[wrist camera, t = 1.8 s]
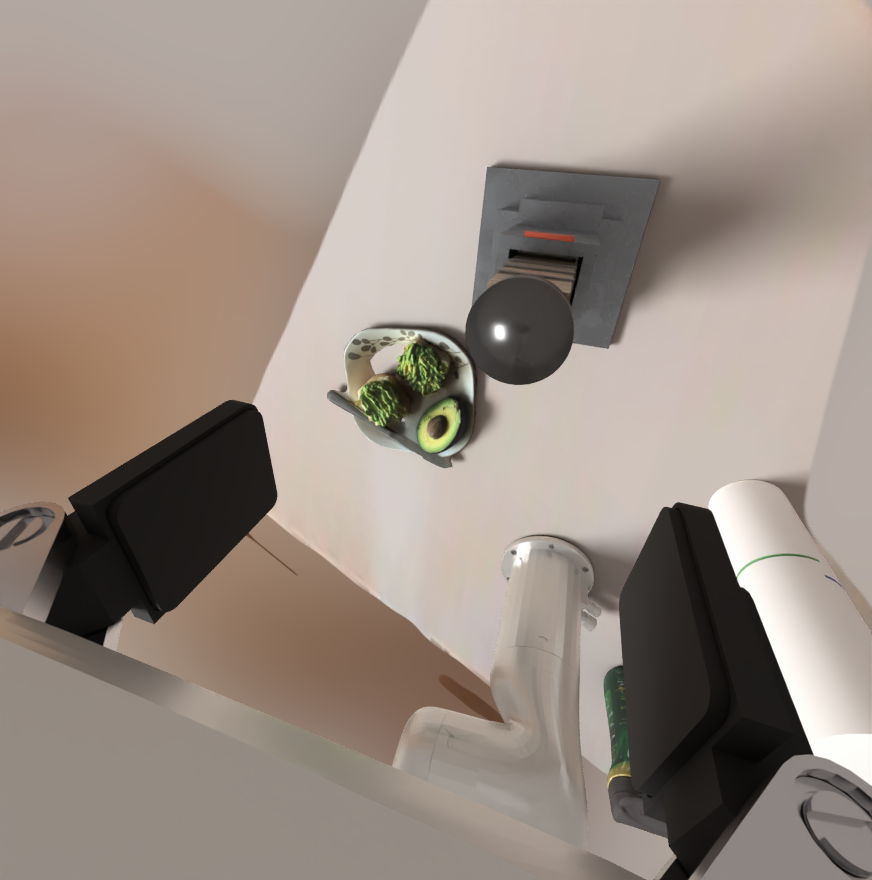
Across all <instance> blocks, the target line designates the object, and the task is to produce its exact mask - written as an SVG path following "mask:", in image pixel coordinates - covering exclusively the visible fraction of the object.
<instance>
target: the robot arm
mask: <svg viewBox="0 0 872 880" xmlns="http://www.w3.org/2000/svg"><path fill="white" fill-rule="evenodd" d="M68 499H69V501H70V502H71V504H72V506H73V508H74V510H75V511H74V512H73V513H71V514H70V515H68V516H67V514H66V513H65V511H64V509H63V508H62V506H60V505H58V504H56V503H52V502H34V503H28V504H23V505H20V506H15V507H12V508H10V509H7V510H4V511H2V512H0V880H645V879H643V878H641V877H639V876H637V875H636V874H634V873H632V872H630V871H627V870H625V869H624V868H621V867H620V866H617V865H616V864H614V863H612V862H610V861H608V860H605V859H603V858H601V857H598V856H596V855H594V854H592V853H590V852H587V851H585V849H586V843H587V836H588V811H587V800H586V791H585V783H584V775H583V767H582V758H581V746H580V729H579V682H580V633H581V626H582V627H584V628H585V629H587V630H588V631H592V630H593V629H594V628H595V627H596V625H597V620H596V619H595V618H594V617H592V616H591V615H589V614H588V613H586V612H584V611H582V610H583V609H586V610H587V611H588V612H589V613H591V614H592V615H593V616H595V617H599V616H600V614H601V612H602V610H601V608H599V607H598V606H596V605H595V604H593V603H591V602H590V601H589V599H588V593H589V591H590V590H591V588H592V586H593V582H594V573H593V567H592V565H591V562H590V561H589V559H588V558H587V557H586V555H585V554H584V553H583V552H582V551H581V550H579V549H578V548H576V547H575V546H574V545H572V544H570V543H568V542H566V541H563V540H560V539H557V538H553V537H547V536H531V537H526V538H522V539H519V540H517V541H515V542H514V543H512V544H511V545H510V546H509V547H508V548H507V549H506V550H505V552H504V554H503V557H502V562H501V570H502V574H503V576H504V578H505V580H506V582H507V583H508V587H507V592H506V597H505V602H504V607H503V612H502V617H501V622H500V627H499V632H498V637H497V642H496V646H495V651H494V656H493V661H492V666H491V673H490V684H491V690H492V694H493V698H494V700H495V703H496V705H497V708H498V710H499V712H500V714H501V716H502V718H503V720H504V722H505V723H499V722H494V721H488V720H484V719H480V718H476V717H472V716H469V715H465V714H462V713H458V712H454V711H450V710H447V709H443V708H437V707H424V708H421V709H419V710H417V711H416V712H415V713H414V714H413V715H412V716H411V717H410V719H409V720H408V722H407V724H406V726H405V728H404V731H403V733H402V736H401V739H400V742H399V745H398V748H397V751H396V755H395V758H394V762H393V765H392V767H391V766H389V765H387V764H384V763H382V762H380V761H377V760H375V759H373V758H370V757H368V756H365V755H363V754H361V753H358V752H356V751H354V750H351V749H349V748H346V747H344V746H342V745H340V744H337V743H335V742H332V741H330V740H327V739H325V738H323V737H320V736H318V735H316V734H313V733H311V732H308V731H306V730H304V729H301V728H299V727H297V726H294V725H292V724H289V723H287V722H285V721H282V720H280V719H277V718H275V717H273V716H270V715H268V714H265V713H263V712H261V711H258V710H256V709H253V708H251V707H249V706H246V705H244V704H241V703H239V702H237V701H234V700H232V699H229V698H227V697H225V696H222V695H220V694H218V693H215V692H213V691H210V690H208V689H205V688H203V687H201V686H198V685H196V684H193V683H191V682H188V681H186V680H184V679H182V678H179V677H177V676H174V675H172V674H169V673H167V672H164V671H162V670H160V669H157V668H155V667H152V666H150V665H147V664H145V663H142V662H140V661H138V660H135V659H133V658H130V657H128V656H125V655H123V654H121V653H118V652H116V648H117V644H118V640H119V635H120V631H121V626H122V622H123V616H124V615H125V614H126V613H127V612H128V611H130V610H131V611H132V613H133V614H134V616H135V617H137V618H140V619H142V620H145V621H147V622H150V623H153V624H155V623H156V622H157V621H158V620H159V619H160V618H161V617H162V616H163V615H164V614H165V613H166V612H168V611H171V610H173V609H175V608H176V607H177V606H178V605H179V604H180V603H181V602H182V601H183V600H184V599H185V598H186V597H187V596H188V595H189V593H191V591H192V590H193V589H194V588H195V587H196V586H197V585H198V584H199V583H200V582H201V581H202V580H203V579H204V578H205V577H206V576H207V575H208V574H209V573H210V572H211V571H212V570H213V569H214V568H215V567H216V566H217V565H218V564H219V563H220V562H221V560H222V559H223V558H224V557H225V556H226V555H227V554H228V553H229V552H230V551H231V550H232V549H233V548H234V547H235V546H236V545H237V544H238V543H239V542H240V541H241V540H242V539H243V537H245V536H246V535H247V534H248V533H249V532H250V531H251V529H252V528H253V527H254V526H255V525H256V524H257V523H258V522H259V521H260V520H261V519H262V518H263V517H264V516H265V515H266V514H267V513H268V512H269V511H270V510H271V509H272V508H273V506H274V505H275V503H276V500H277V489H276V484H275V479H274V474H273V469H272V464H271V459H270V453H269V448H268V443H267V438H266V433H265V428H264V422H263V418H262V415H261V413H260V412H258V410H257V408H256V407H255V406H254V405H252V404H249V403H244V402H240V401H236V400H229V401H226V402H225V403H223V404H221V405H219V406H218V407H216V408H215V409H213V410H211V411H210V412H208V413H206V414H205V415H203V416H201V417H200V418H198V419H197V420H195V421H193V422H192V423H190V424H188V425H187V426H185V427H183V428H182V429H180V430H178V431H177V432H176V433H174V434H172V435H170V436H169V437H167V438H165V439H164V440H162V441H161V442H159V443H157V444H156V445H154V446H152V447H151V448H149V449H147V450H146V451H144V452H142V453H141V454H139V455H138V456H136V457H134V458H133V459H131V460H129V461H128V462H126V463H124V464H123V465H121V466H119V467H118V468H116V469H115V470H113V471H111V472H110V473H108V474H106V475H105V476H103V477H102V478H100V479H98V480H96V481H95V482H93V483H92V484H90V485H88V486H87V487H85V488H83V489H82V490H80V491H78V492H77V493H75V494H74V495H72V496H70V497H69V498H68ZM619 614H620V629H621V643H622V658H623V673H624V687H625V702H626V716H627V731H628V746H629V760H630V775H631V782H632V786H633V788H634V789H635V790H636V791H639V792H641V793H642V799H643V811H644V815H646V816H648V817H651V818H653V819H656V820H658V821H661V822H664V823H666V826H667V834H668V842H669V847H670V848H671V850H672V851H673V852H674V854H673V855H672V857H671V858H670V859H669V861H668V862H667V863H666V864H665V865H664V867H663V868H662V869H661V871H660V872H659V873H658V874H657V876H656V877H655V878H654V879H653V880H872V786H871V785H870V784H868V783H867V782H865V781H864V780H863V779H861V778H860V777H859V776H857V775H856V774H855V773H853V772H852V771H851V770H849V769H847V768H845V767H843V766H841V765H839V764H837V763H835V762H833V761H831V760H829V759H826V758H822V757H818V756H814V754H813V752H812V749H811V746H810V744H809V741H808V739H807V736H806V734H805V731H804V728H803V726H802V723H801V721H800V718H799V716H798V713H797V710H796V708H795V705H794V703H793V700H792V698H791V695H790V692H789V690H788V687H787V685H786V682H785V680H784V677H783V675H782V672H781V669H780V667H779V664H778V662H777V659H776V657H775V654H774V651H773V649H772V646H771V644H770V641H769V639H768V636H767V633H766V631H765V628H764V626H763V623H762V621H761V618H760V615H759V613H758V610H757V608H756V605H755V603H754V600H753V598H752V597H751V595H750V593H749V592H748V591H747V590H746V589H745V588H743V587H740V585H739V583H738V580H737V577H736V575H735V572H734V569H733V566H732V564H731V561H730V558H729V556H728V553H727V550H726V547H725V545H724V542H723V539H722V537H721V534H720V531H719V528H718V526H717V523H716V520H715V518H714V515H713V513H712V511H711V510H709V509H706V508H702V507H697V506H693V505H688V504H684V503H680V502H678V503H676V504H675V505H674V506H673V507H672V508H669V507H664V508H663V509H662V510H661V512H660V514H659V516H658V518H657V520H656V522H655V524H654V526H653V528H652V530H651V532H650V534H649V536H648V538H647V540H646V543H645V545H644V547H643V549H642V551H641V553H640V555H639V557H638V559H637V561H636V563H635V565H634V567H633V569H632V571H631V573H630V575H629V577H628V579H627V581H626V584H625V586H624V588H623V590H622V592H621V596H620V601H619Z"/></svg>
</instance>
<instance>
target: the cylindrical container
mask: <svg viewBox="0 0 872 880" xmlns="http://www.w3.org/2000/svg"><path fill="white" fill-rule="evenodd" d="M708 508H709V510H711V511H712V513H713V515H714V518H715V520H716V523H717V526H718V528H719V531H720V534H721V537H722V539H723V542H724V545H725V547H726V550H727V553H728V556H729V558H730V561H731V564H732V566H733V569H734V572H735V575H736V577H737V580H738V583H739V585H740V587H743V588H745V589H746V590H747V591H748V592H749V593H750V595H751V597H752V598H753V600H754V603H755V605H756V608H757V610H758V613H759V615H760V618H761V621H762V623H763V626H764V628H765V631H766V633H767V636H768V639H769V641H770V644H771V646H772V649H773V651H774V654H775V657H776V659H777V662H778V664H779V667H780V669H781V672H782V675H783V677H784V680H785V682H786V685H787V687H788V690H789V692H790V695H791V698H792V700H793V703H794V705H795V708H796V710H797V713H798V716H799V718H800V721H801V723H802V726H803V728H804V731H805V734H806V736H807V739H808V741H809V744H810V746H811V749H812V752H813V754H814V756H818V757H822V758H826V759H829V760H831V761H833V762H835V763H837V764H839V765H841V766H843V767H845V768H847V769H849V770H851V771H852V772H853V773H855V774H856V775H857V776H859V777H860V778H861V779H863V780H864V781H865V782H867V783H868V784H870V785H871V786H872V633H871V631H870V630H869V628H868V627H867V625H866V623H865V622H864V620H863V619H862V617H861V615H860V614H859V612H858V610H857V609H856V607H855V606H854V604H853V602H852V601H851V599H850V598H849V596H848V594H847V593H846V592H845V590H844V588H843V586H842V585H841V583H840V582H839V580H838V579H837V577H836V575H835V574H834V572H833V571H832V569H831V567H830V566H829V564H828V563H827V561H826V559H825V558H824V556H823V555H822V553H821V552H820V550H819V548H818V547H817V545H816V544H815V542H814V540H813V539H812V537H811V536H810V534H809V532H808V531H807V529H806V528H805V526H804V524H803V523H802V521H801V520H800V518H799V516H798V515H797V513H796V512H795V510H794V508H793V507H792V505H791V503H790V502H789V500H788V499H787V497H786V495H785V494H784V493H783V491H782V490H781V489H779V488H778V487H777V486H775V485H773V484H771V483H768V482H765V481H760V480H742V481H737V482H733V483H730V484H728V485H725V486H724V487H722V488H720V489H719V490H718V491H717V492H715V494H714V495H713V496H712V497H711V499H710V502H709V506H708Z"/></svg>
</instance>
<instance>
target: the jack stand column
mask: <svg viewBox="0 0 872 880" xmlns="http://www.w3.org/2000/svg"><path fill="white" fill-rule="evenodd" d="M577 260H578V257H576V256H568V255H559V254H550V253H542V252H533V251H525V250H518V253H517V254H516V255H515V256H514V257H513V258H508V262H507V263H503V264H502V268H501V269H497V270H496V274H495V275H494V276H493V277H492V278H491V279H490V280H489V281H488V282H487V289H486V290H485V291H484V292H483V293H482V294H481V295H480V297H479V298H478V299H477V300H476V301H475V303H474V305H473V306H472V308H471V310H470V312H469V315H468V318H467V322H466V332H465V334H466V342H467V347H468V350H469V352H470V355H471V356H472V358H473V360H474V361H475V363H476V364H477V365H478V367H479V368H480V369H481V370H482V371H483V372H485V373H486V374H487V375H489V376H490V377H492V378H494V379H496V380H498V381H500V382H503V383H507V384H514V385H524V384H531V383H535V382H538V381H540V380H543V379H545V378H546V377H548V376H550V375H551V374H553V373H554V372H555V371H556V370H557V369H558V368H559V367H560V366H561V365H562V364H563V362H564V361H565V359H566V358H567V356H568V354H569V352H570V349H571V346H572V342H573V336H574V314H573V310H572V307H571V305H570V298H571V294H572V290H573V285H574V281H575V275H576V268H577V266H576V265H577Z"/></svg>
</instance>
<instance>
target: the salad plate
mask: <svg viewBox="0 0 872 880" xmlns="http://www.w3.org/2000/svg"><path fill="white" fill-rule="evenodd" d="M393 344H407V345H406V346H405V348H404V352H403V355H402V356H399V357H398V358H397V360H398V362H400V364H399V365H398V366H397V369H396V370H397V372H395V373H393V374H392V375H388V374H386V373H382V374H377V375H375V373H374V371H373V369H372V366H371V363H370V360H371V358H372V357H373V356H374V355H375V354H376V353H377V352H378V351H380V350H381V349H383V348H384V347H387V346H391V345H393ZM344 364H345V371H346V377H347V383H348V385H347V391H346V392H338V391H335V390H330V391H329V392H328V393H327V398H328V399H329V400H330V401H331V402H332V403H334V404H336V405H337V406H339V407H341V408H342V409H344V410H346V411H348V412H349V413H351V414H352V415H353V418H354V421H355V423H356V425H357V426H358V428H359V429H360V431H361V432H362V433H363V434H364V435H365V436H366V437H367V438H368V439H369V440H370V441H371V442H373V443H374V444H376V445H378V446H382V447H385V448H389V449H395V450H402V451H407V452H415V453H417V454H419V455H421V456H422V457H423V458H424V459H425V460H427V461H429V462H431V463H433V464H435V465H437V466H439V467H442V468H448V467H452V463H451V457H452V456H453V455H454V454H455V453H457V452H458V451H460V450H461V449H462V448H463V447H464V446H465V445H466V444H467V442H468V441H469V440H470V438H471V435H472V431H473V427H474V417H475V395H476V383H477V378H476V368H475V363H474V361H473V359H472V358H471V356H470V355H469V354H468V352H467V351H466V350H465V349H464V348H463V347H462V346H461V345H460V344H459V343H458V342H457V341H455V340H454V339H453V338H451V337H450V336H448V335H446V334H444V333H441V332H438V331H435V330H432V329H427V328H416V329H403V328H369V329H365V330H362V331H361V332H359V333H358V334H355V335H354V336H353V338H352V339H351V340H350V342H349V343H348V344H347V345H346V347H345V349H344ZM454 376H455V377H454ZM402 418H404V419H405V423H402V422H401V419H402Z"/></svg>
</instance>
